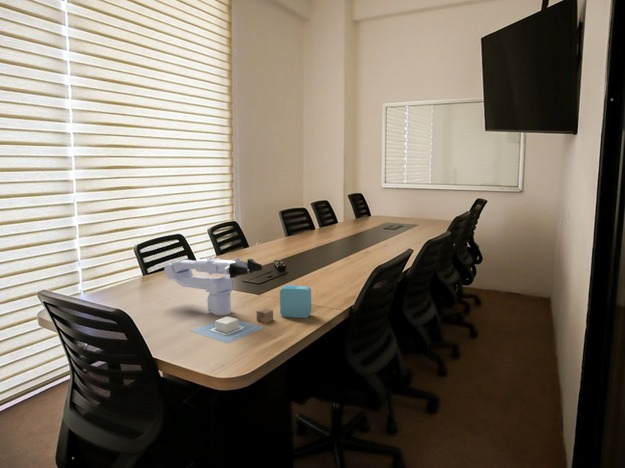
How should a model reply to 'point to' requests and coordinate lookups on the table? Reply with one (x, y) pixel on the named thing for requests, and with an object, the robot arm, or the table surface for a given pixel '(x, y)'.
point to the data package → (295, 301)
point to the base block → (227, 324)
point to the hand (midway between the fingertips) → (254, 269)
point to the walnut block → (264, 315)
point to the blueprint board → (227, 337)
